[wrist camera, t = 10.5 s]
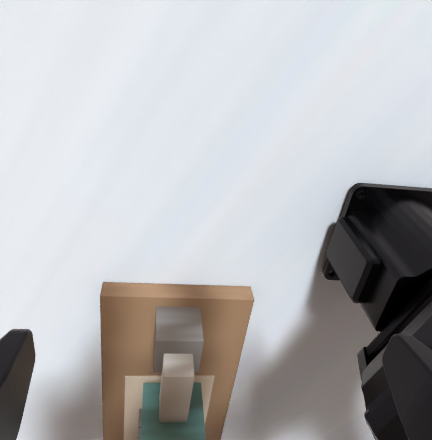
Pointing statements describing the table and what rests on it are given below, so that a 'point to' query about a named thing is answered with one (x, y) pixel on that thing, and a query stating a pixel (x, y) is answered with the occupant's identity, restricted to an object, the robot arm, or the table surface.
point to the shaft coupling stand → (170, 358)
